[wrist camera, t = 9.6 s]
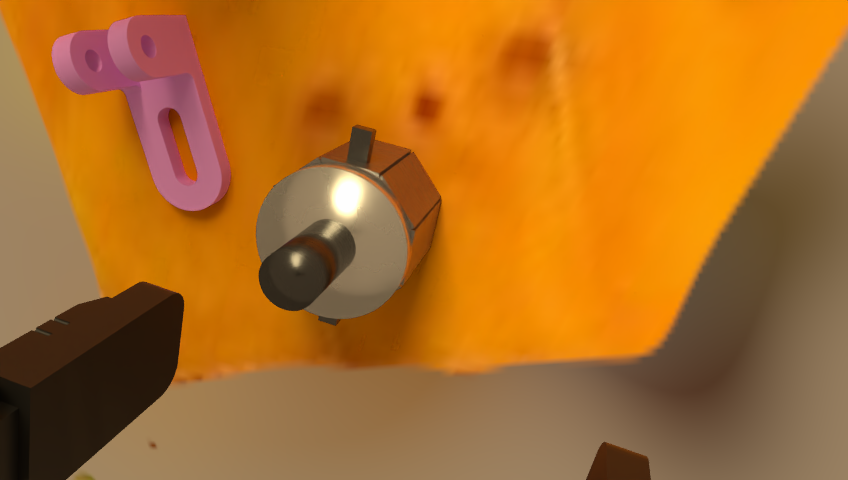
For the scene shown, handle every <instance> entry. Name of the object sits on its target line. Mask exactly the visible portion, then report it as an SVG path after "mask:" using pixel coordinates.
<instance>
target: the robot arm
mask: <svg viewBox="0 0 848 480" xmlns="http://www.w3.org/2000/svg"><path fill="white" fill-rule="evenodd" d="M183 312H184V300H183V297H182V295H181V294H179V293H176V292H173V291H170V290H167V289H164V288H162V287H159V286H156V285H153V284H150V283H147V282H139V283H137V284H135V285H134V286H132V287H130V288H129V289H127V290H125V291H123V292H122V293H120V294H118V295H117V296H115V297H113V298H109V297H104V298H100V299H97V300H93V301H89V302H86V303H82V304H78V305H76V306H74V307H72V308H71V309H69V310H67V311H65V312H64V313H62V314H60V315H58V316H56V317H55V319H54V321H53V320H49V321H47V322H46V323H44V324H42V325H40V326H39V327H37V328H36V330H35V331H30V332H28V333H26V334H24V335H23V336H21V337H19V338H17V339H15V340H14V341H12V342H10V343H9V344H7V345H5V346H3V347H1V348H0V480H66V479H67V478H68V477H70V476H71V475H72V474H73V473H74V472H75V471H77V470H78V469H79V468H80V467H81V466H82V465H83V464H84V463H86V462H87V461H88V460H89V459H90V458H91V457H92V456H94V455H95V454H96V453H97V452H98V451H99V450H100V449H102V448H103V447H104V446H105V445H106V444H107V443H108V442H110V441H111V440H112V439H113V438H114V437H115V436H116V435H117V434H118V433H120V432H121V431H122V430H123V429H124V428H125V427H127V425H129V424H130V423H131V422H132V421H133V420H134V419H136V418H137V417H138V416H139V415H140V414H141V413H143V412H144V411H145V410H146V409H147V408H148V407H149V406H150V405H152V404H153V403H154V402H155V401H156V400H157V399H158V398H159V397H161V396H162V395H163V394H164V392H165V391H166V390H167V388H168V387H169V385H170V384H171V382H172V380H173V377H174V375H175V372H176V369H177V364H178V356H179V347H180V338H181V330H182V321H183ZM586 480H651V478H650V469H649V461H648V458H647V456H644V455H641V454H638V453H635V452H632V451H629V450H627V449H624V448H621V447H618V446H615V445H612V444H609V443H606V442H603V443H602V445H601V446H600V448H599V450H598V452H597V454H596V457H595V459H594V461H593V464H592V466H591V469H590V471H589V474H588V476H587V479H586Z"/></svg>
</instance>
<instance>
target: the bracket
mask: <svg viewBox="0 0 848 480" xmlns="http://www.w3.org/2000/svg"><path fill="white" fill-rule="evenodd" d="M52 61H53V65H54V68H55V71H56V73H57V75H58V77H59V78H60V80H61V81H62V82H63V84H64V85H65V86H66V87H67V88H69V89H70V90H71V91H73V92H75V93H77V94H81V95H86V94H93V93H99V92H105V91H111V90H118V89H120V90H122V91H123V92H124V93H125V95H126V98H127V101H128V104H129V107H130V110H131V113H132V116H133V119H134V122H135V125H136V128H137V131H138V134H139V137H140V140H141V144H142V147H143V150H144V153H145V156H146V159H147V162H148V165H149V168H150V171H151V174H152V177H153V180H154V183H155V185H156V187H157V189H158V190H159V192H160V193H161V195H162V196H163V197H164V198H165V199H166V200H167V201H168V202H170V203H171V204H172V205H174V206H176V207H178V208H180V209H183V210H188V211H198V210H202V209H204V208H206V207H209V206H211V205H213V204H215V203H216V202H218V201H219V200H220V199H222V198H223V196H224V195H225V194H226V192H227V190H228V188H229V185H230V179H231V171H230V165H229V161H228V158H227V154H226V151H225V148H224V144H223V141H222V137H221V134H220V131H219V127H218V124H217V120H216V117H215V114H214V110H213V107H212V103H211V100H210V97H209V93H208V90H207V86H206V83H205V80H204V76H203V73H202V69H201V66H200V63H199V59H198V56H197V52H196V49H195V46H194V42H193V39H192V35H191V32H190V29H189V25H188V22H187V18H186V15H138V16H134V17H130V18H126V19H123V20H119V21H116V22H114V23H113V24H112V25H111V26H110V28H109V30H87V31H79V32H76V33H72V34H68V35H65V36H61V37H59V38H58V39H57V40H56V41H55V43H54V45H53V48H52ZM171 108H172V109H174V110H176V111H177V112H178V114H179V115H180V117H181V120H182V124H183V127H184V130H185V133H186V136H187V140H188V143H189V146H190V149H191V153H192V156H193V159H194V162H195V166H196V169H197V173H198V178H197V181H193V180H191V179H190V178H189V177H188V176H187V175H186V173H185V170H184V167H183V164H182V161H181V157H180V154H179V151H178V148H177V145H176V141H175V138H174V135H173V132H172V129H171V125H170V122H169V118H168V114H169V111H170V109H171Z"/></svg>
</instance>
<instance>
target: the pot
mask: <svg viewBox="0 0 848 480" xmlns="http://www.w3.org/2000/svg"><path fill="white" fill-rule="evenodd" d="M375 135H376V130H375V129H372V128H368V127H364V126H361V125H355V126H353V127H352V133H351V139H350V141H349V142H347V143H345V144H343V145H341V146H339V147H337V148H335V149H333V150H331V151H330V152H328V153H326V154H324V155H322V156H320V157H318V158H316V159H315V160H313V161H312V162H310V163H309V164H307V165H306V166H304V167H302V168H301V169H303V168H305V167H308V166H311V165H315V164H320V163H340V164H345V165H349V166H352V167H356V168H358V169H361V170H363V171H365V172H367V173H369V174H370V175H372V176H373V177H375V178H376V179H378V180H379V181H380V182H381V183H383V184H384V185H385V186H386V187H387V188H388V189H389V190H390V191H391V192H392V194H393V195H394V196H395V198H396V199H397V200H398V202H399V203H400V205H401V207H402V209H403V210H404V213H405V215H406V218H407V220H408V223H409V227H410V231H411V238H412V253H411V260H410V264H409V268H408V270H407V273H406V275H405V277H404V279H403V281H402V282H401V284H400V285H399V287H398V288H397V289H396V290H398V289H400V288H401V287H402V286H403V285H404V283H405V282H406V281H407V279H408V278H409V276H410V275H411V274H412V272H413V271H414V270H415V268H416V267H417V265H418V264H419V263H420V261H421V260H422V258H423V257H424V256H425V254H426V253H427V251H428V250H429V249H430V247H431V243H432V238H433V234H434V230H435V226H436V221H437V217H438V213H439V209H440V204H441V200H440V198H441V196H440V194H439V193H438V191H437V189H436V188H435V186H434V184H433V183H432V181H431V180H430V178H429V176H428V175H427V173H426V171H425V170H424V168H423V166H422V165H421V163H420V162H419V160H418V158H417V157H416V155H415V153H414V152H412V153H411V154H410V152H411V150H410V149H406V148H402V147H399V146H395V145H392V144H388V143H384V142H381V141H377V140H375ZM299 170H300V169H299ZM275 186H276V185H274V186H273V187H275ZM272 189H273V188H272ZM272 189H271V190H272ZM318 320H320V321H323V322H326V323H329V324H332V325H335V326H336V325H337V324H338V322H339V321H340V319H334V318H326V317H322V316H319V319H318Z"/></svg>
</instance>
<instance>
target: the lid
mask: <svg viewBox="0 0 848 480" xmlns="http://www.w3.org/2000/svg"><path fill="white" fill-rule="evenodd" d="M256 240H257V248H258V252H259V256H260V259H261V262H262V264H261V267H260V270H259V282H260V286H261V289H262V291H263V293H264V294H265V296H266V297H267V298H268V299H269V300H270V301H271V302H272V303H273V304H274V305H276V306H278V307H280V308H282V309H284V310H289V311H298V310H302V309H304V310H306V311H308V312H310V313H313V314H315V315H318V316H322V317H326V318H334V319H349V318H355V317H359V316H362V315H366V314H368V313H370V312H372V311H374V310H376V309H377V308H379V307H380V306H382V305H383V304H384V303H385V302H386V301H387V300H388V299H389V298H390V297H391V296H392V295H393V293H394V292H395V291H396V289H397V288H398V287H399V285H400V284H401V282H402V281H403V279H404V277H405V275H406V273H407V270H408V268H409V264H410V260H411V253H412V238H411V231H410V227H409V223H408V220H407V218H406V215H405V213H404V210H403V209H402V207H401V205H400V203H399V202H398V200H397V199H396V198H395V196H394V195H393V194H392V192H391V191H390V190H389V189H388V188H387V187H386V186H385V185H384V184H383V183H381V182H380V181H379V180H378V179H376V178H375V177H373V176H372V175H370V174H369V173H367V172H365V171H363V170H361V169H358V168H356V167H352V166H349V165H345V164H340V163H320V164H315V165H311V166H308V167H305V168H303V169H300V170H298V171H296V172H295V173H293V174H291V175H289V176H287V177H286V178H284V179H283V180H281V181H280V182H279V183H278V184H276V186H275V187H274V188H273V189H272V190H271V191H270V192H269V194H268V195H267V197H266V198H265V200H264V202H263V204H262V206H261V209H260V212H259V215H258V220H257V225H256Z"/></svg>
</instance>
